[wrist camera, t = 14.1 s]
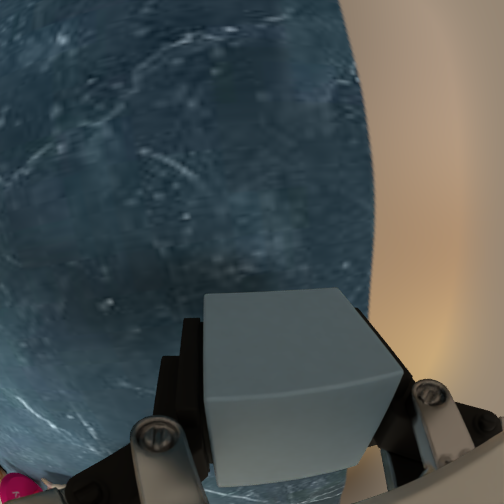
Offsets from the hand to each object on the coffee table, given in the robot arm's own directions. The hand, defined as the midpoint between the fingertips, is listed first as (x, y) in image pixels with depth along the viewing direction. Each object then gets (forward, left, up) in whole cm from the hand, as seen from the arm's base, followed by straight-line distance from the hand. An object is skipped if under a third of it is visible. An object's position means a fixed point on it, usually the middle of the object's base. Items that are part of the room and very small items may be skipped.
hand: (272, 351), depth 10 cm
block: (0, 0, 0) cm, 0 cm away
